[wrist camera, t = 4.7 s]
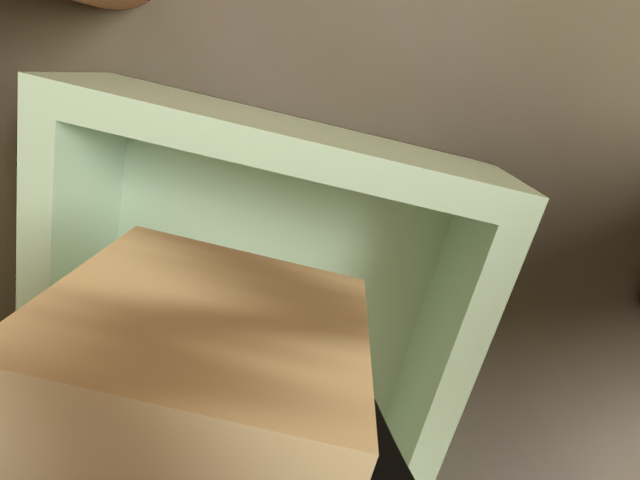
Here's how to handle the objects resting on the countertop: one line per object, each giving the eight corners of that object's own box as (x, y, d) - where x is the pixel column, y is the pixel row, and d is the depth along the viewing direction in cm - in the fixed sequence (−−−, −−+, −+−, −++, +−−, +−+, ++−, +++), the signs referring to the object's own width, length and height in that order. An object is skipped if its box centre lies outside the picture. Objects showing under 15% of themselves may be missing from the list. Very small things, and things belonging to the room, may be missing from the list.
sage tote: (493, 164, 17) (549, 198, 12) (366, 523, 23) (371, 639, 18) (110, 72, 17) (18, 71, 12) (82, 460, 23) (13, 561, 18)
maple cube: (364, 279, 10) (378, 455, 5) (312, 457, 12) (289, 709, 7) (136, 225, 10) (-51, 357, 5) (116, 412, 12) (-39, 639, 7)
